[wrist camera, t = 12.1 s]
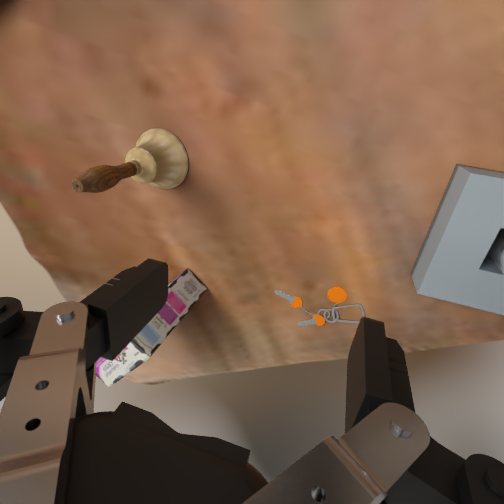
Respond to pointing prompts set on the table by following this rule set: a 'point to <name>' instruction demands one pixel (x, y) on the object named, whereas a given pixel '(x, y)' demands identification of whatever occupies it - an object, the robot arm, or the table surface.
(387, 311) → the table surface
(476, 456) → the robot arm
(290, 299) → the key chain
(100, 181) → the hand bell
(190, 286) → the candy bar box
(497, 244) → the pin
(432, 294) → the bore block
